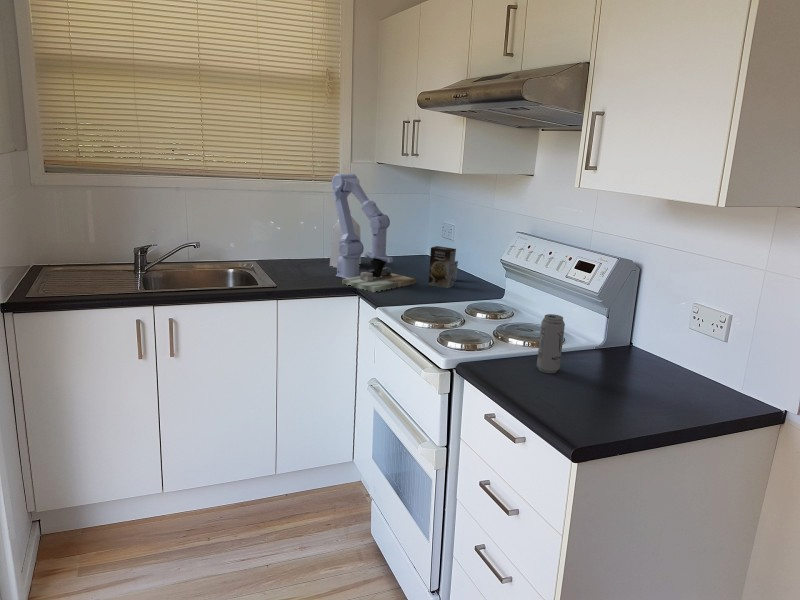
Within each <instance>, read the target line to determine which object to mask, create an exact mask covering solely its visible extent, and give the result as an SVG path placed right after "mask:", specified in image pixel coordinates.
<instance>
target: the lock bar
mask: <svg viewBox="0 0 800 600" xmlns="http://www.w3.org/2000/svg"><path fill="white" fill-rule="evenodd" d="M368 272H369V273H373V277H376V276H375V271H374V269H369V270H368ZM391 273H392V268H391V267H390V266H384V267H383V269H382V272H381V276H385V275H391Z"/></svg>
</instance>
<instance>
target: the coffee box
mask: <svg viewBox="0 0 800 600" xmlns="http://www.w3.org/2000/svg"><path fill="white" fill-rule="evenodd" d="M456 252H457V248H453V247H452V248H451V247H445V246H440V245H439V246H438V245H436V246H432V247H430V257H429V269H428V270H429V272H428V286H431V287H438V288H445V289H449V288H452V287H454V281H453V278H454V265H455V261H456Z"/></svg>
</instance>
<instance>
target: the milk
mask: <svg viewBox="0 0 800 600" xmlns="http://www.w3.org/2000/svg"><path fill="white" fill-rule="evenodd" d="M350 214H351V212H350ZM351 218H352V223H353V227H354V232H355V234H356V235H357V236H359V237H360V238H361V225H360V223H359V222H357V221H356V219H355V218H354V217H352V214H351ZM341 237H342V232H341V228H340V223H339V219H338V218H337V220H336V223H334V224H333V225H332V228H331V239H330V241H331V242H330V255H329V267H330V266H333V267H332V268H337V261H338V259H339V257H340V256H341V254H340V252H339V240H340V239H341ZM349 242H350V241H349ZM359 264H361V265H362V256H361V257H359Z"/></svg>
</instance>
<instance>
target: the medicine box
mask: <svg viewBox="0 0 800 600" xmlns="http://www.w3.org/2000/svg"><path fill="white" fill-rule="evenodd" d="M458 264H459V261H458V260H455V265H454V278H453V283H454V282H456V281H457V278H458V266H459V265H458Z"/></svg>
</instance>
